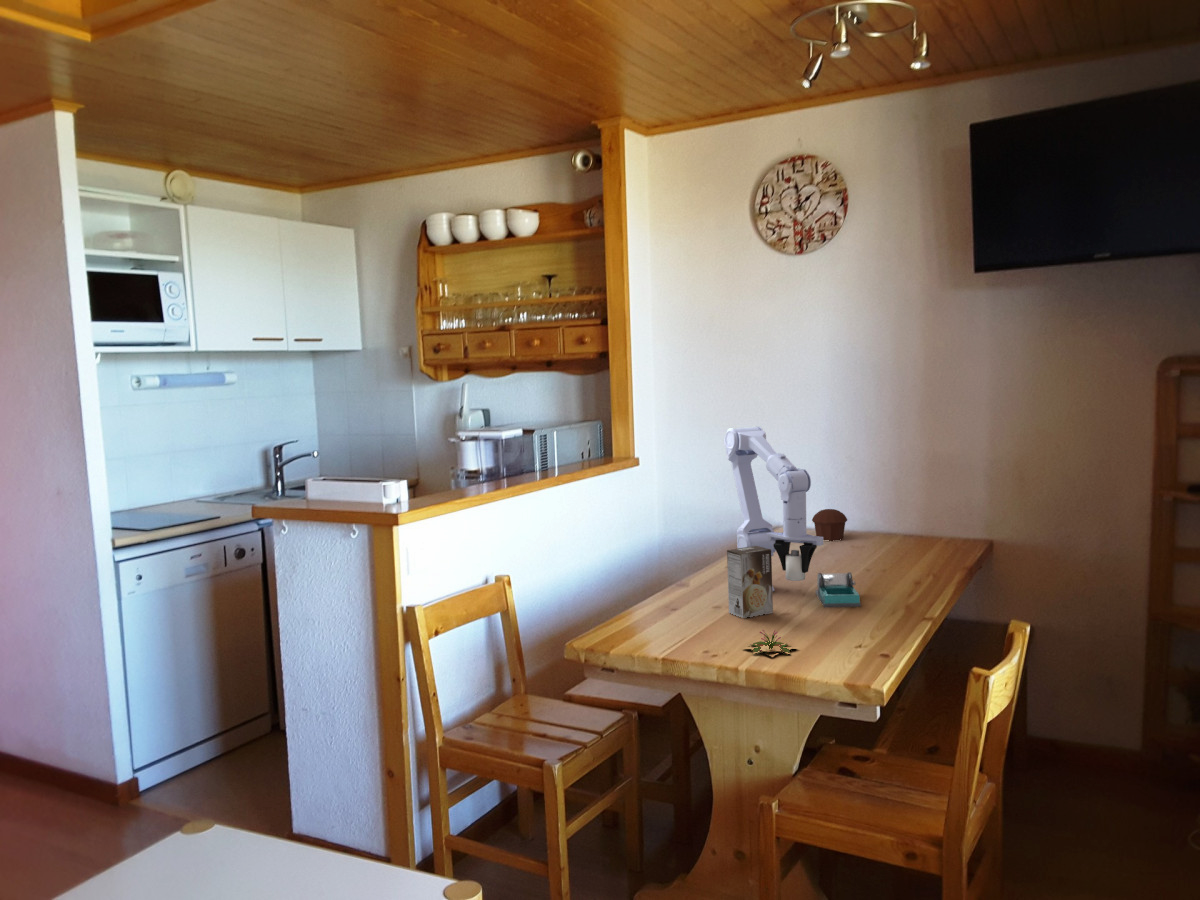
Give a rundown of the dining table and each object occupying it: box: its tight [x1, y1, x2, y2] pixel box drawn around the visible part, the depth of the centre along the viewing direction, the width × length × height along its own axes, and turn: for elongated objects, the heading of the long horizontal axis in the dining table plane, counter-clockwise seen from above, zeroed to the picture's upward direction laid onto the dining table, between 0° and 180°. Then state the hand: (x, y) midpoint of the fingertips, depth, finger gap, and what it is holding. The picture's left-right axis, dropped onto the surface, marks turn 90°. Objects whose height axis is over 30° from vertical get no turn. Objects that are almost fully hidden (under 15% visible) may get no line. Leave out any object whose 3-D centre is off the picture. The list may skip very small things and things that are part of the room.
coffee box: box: [726, 546, 774, 619], centre depth 236 cm, size 9×6×16 cm
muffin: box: [811, 508, 848, 542], centre depth 326 cm, size 12×11×10 cm
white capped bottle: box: [785, 549, 806, 582], centre depth 244 cm, size 5×5×7 cm
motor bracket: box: [815, 571, 862, 608], centre depth 246 cm, size 10×14×6 cm
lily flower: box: [747, 629, 791, 655], centre depth 207 cm, size 12×12×5 cm
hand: (795, 570), depth 244 cm, fingers closed on white capped bottle, 5 cm apart
